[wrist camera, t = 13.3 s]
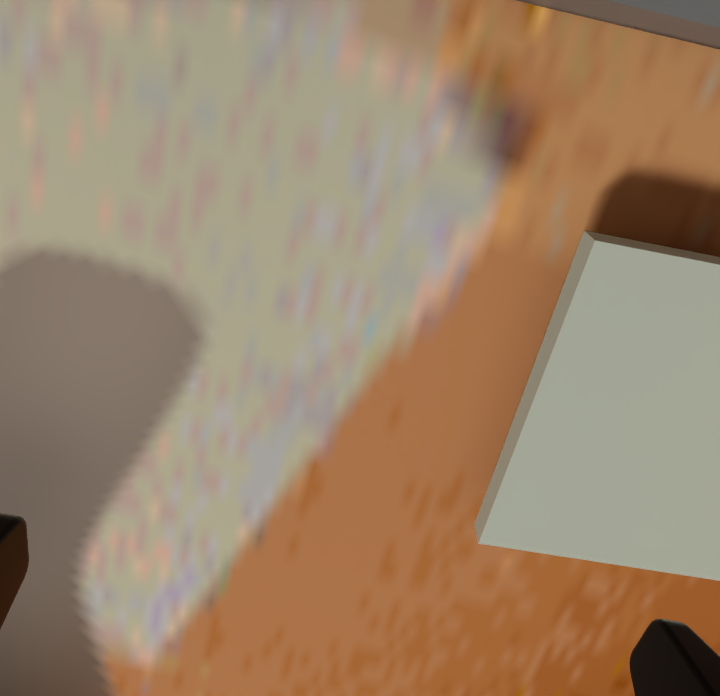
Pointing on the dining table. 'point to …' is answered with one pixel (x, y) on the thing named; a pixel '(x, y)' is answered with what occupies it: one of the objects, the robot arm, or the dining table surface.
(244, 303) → the dining table surface
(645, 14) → the tub
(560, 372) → the lid
